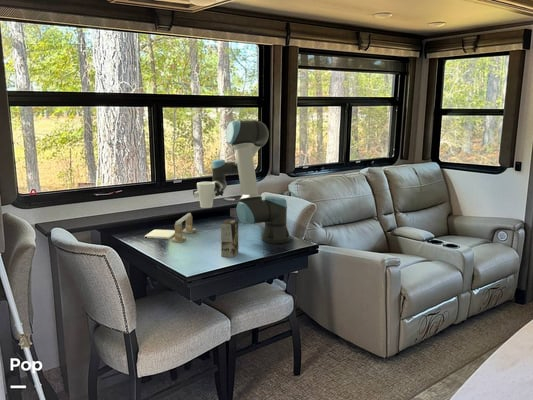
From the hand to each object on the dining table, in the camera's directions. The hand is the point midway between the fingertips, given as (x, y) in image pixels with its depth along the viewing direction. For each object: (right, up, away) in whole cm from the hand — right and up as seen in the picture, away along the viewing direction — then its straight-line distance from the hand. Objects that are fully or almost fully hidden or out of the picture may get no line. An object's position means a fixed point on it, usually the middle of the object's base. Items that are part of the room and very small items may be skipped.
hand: (203, 195), depth 240 cm
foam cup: (+1, -6, +6) cm, 8 cm away
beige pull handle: (-12, -22, +11) cm, 28 cm away
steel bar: (-12, -13, +9) cm, 20 cm away
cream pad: (-25, -22, +13) cm, 36 cm away
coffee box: (+15, -29, -21) cm, 39 cm away
